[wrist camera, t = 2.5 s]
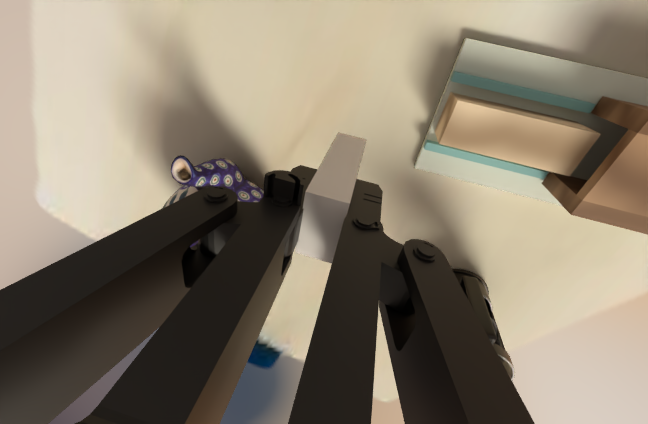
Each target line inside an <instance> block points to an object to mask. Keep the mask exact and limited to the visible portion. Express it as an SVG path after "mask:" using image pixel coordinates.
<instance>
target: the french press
mask: <svg viewBox="0 0 648 424" xmlns="http://www.w3.org/2000/svg"><path fill="white" fill-rule="evenodd" d="M452 270H453V272H454V274H455V276H456V278H457V280H458V282H459V284H460V285H461V287H462V289H463V291H464V293H465V295H466V297H467V298H468V300H469V302H470V304H471V306H472V308H473V310H474V312H475V313H476V315H477V317H478V319H479V321H480V323H481V325H482V326H483V328H484V330H485V332H486V334H487V336H488V338H489V340H490V341H491V343H492V345H493V347H494V349H495V351H496V353H497V354H498V356H499V358H500V360H501V362H502V364H503V366H504V368H505V369H506V371H507V373H508V375H509V377H510V379H511V381H513V379H514V376H515V371H514V367H513V365H512V362H511V359H510V356H509V355H508V353H507V352H506V351H505V348H504V345H503V342H502V339H501V336H500V333H499V330H498V328H497V325H496V322H495V319H494V316H493V313H492V310H493V308H492V304H491V301H490V299H489V296H488V295H489V291H488V288H487V285H486V284H485V282H484V281H483V280H482V279H481V278H480V277H479V276H477V275H476V274H474V273H472V272H469V271H465V270H460V269H452Z"/></svg>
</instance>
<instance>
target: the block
mask: <svg viewBox="0 0 648 424" xmlns="http://www.w3.org/2000/svg"><path fill="white" fill-rule="evenodd" d="M591 113H592V114H594V115H597V116H599V117H601V118H604V119H606V120H608V121H611V122H613V123H615V124H618V125H620V126H622V127H625V128H627V129H629V130H628V131H627V132H626V133H625V135H624V136H623V137H622V138H621V140H620V141H619V142H618V143H617V145H616V146H615V147H614V148H613V150H612V151H611V152H610V153H609V155H608V156H607V157H606V158H605V160H604V161H603V162H602V163H601V165H600V166H599V167H598V168H597V170H596V171H595V172H594V173H593V175H592V176H591V177H590V178H589V180H584V179H580V178H576V177H572V176H566V175H562V174H558V173H554V172H549V173H548V175H547V176H546V178H545V179H544V181H543V182H542V183H541V184H542V185H543V186H544V187H545V188H546V189H547V190H548V191H549V192H550V193H551V194H552V195H553V196H554V197H555V198H556V199H557V200H558V201H559V203H560V204H561V205H562V206H563V207H564V208H565V209H566V210H567V211H568V212H569V213H570V214H571V215H575V216H579V217H582V218H586V219H590V220H594V221H598V222H602V223H606V224H610V225H613V226H617V227H621V228H625V229H629V230H633V231H637V232H641V233H644V234H648V106H644V105H639V104H635V103H631V102H626V101H622V100H617V99H613V98H609V97H604V96H602V98H601V99H600V100H599V102H598V103H597V105H596V106H595V108H594V109H593V110H592V112H591Z"/></svg>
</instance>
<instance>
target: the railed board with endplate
mask: <svg viewBox="0 0 648 424" xmlns="http://www.w3.org/2000/svg"><path fill="white" fill-rule="evenodd" d="M450 92H453V93H457V94H461V95H466V96H470V97H474V98H478V99H483V100H487V101H491V102H495V103H500V104H504V105H508V106H512V107H517V108H521V109H525V110H529V111H534V112H538V113H542V114H546V115H551V116H555V117H559V118H563V119H568V120H572V121H576V122H578V123H580V124H582V125H584V126H586V127H588V128H590V129H592V130H594V131H596V132H598V133H600V134H601V135H600V136H599V138H598V139H597V140H596V142H595V143H594V144H593V146H592V147H591V148H590V150H589V151H588V152H587V154H586V155H585V156H584V158H583V159H582V160H581V162H580V163H579V164H578V166H577V167H576V168H575V170H574V171H573V172H572V174H571V175H570V176H572V177H576V178H580V179H584V180H589V178H590V177H591V176H592V175H593V173H594V172H595V171H596V170H597V168H598V167H599V166H600V165H601V163H602V162H603V161H604V160H605V158H606V157H607V156H608V155H609V153H610V152H611V151H612V150H613V148H614V147H615V146H616V145H617V143H618V142H619V141H620V140H621V138H622V137H623V136H624V135H625V133H626V132H627V131H628V130H629V129H627V128H625V127H622V126H620V125H618V124H615V123H613V122H611V121H608V120H606V119H604V118H601V117H599V116H597V115H594V114H592V113H591V112H592V110H593V109H594V108H595V106H596V105H597V103H598V102H599V100H600V99H601V98H602V96H604V97H609V98H613V99H617V100H622V101H626V102H631V103H635V104H639V105H644V106H648V78H645V77H641V76H636V75H631V74H627V73H622V72H618V71H613V70H609V69H604V68H600V67H595V66H591V65H586V64H582V63H577V62H573V61H568V60H564V59H559V58H555V57H550V56H546V55H541V54H537V53H532V52H527V51H523V50H518V49H514V48H509V47H505V46H500V45H496V44H491V43H487V42H482V41H478V40H473V39H469V38H464V41H463V43H462V46H461V48H460V51H459V53H458V56H457V59H456V61H455V64H454V66H453V69H452V71H451V74H450V76H449V79H448V81H447V84H446V86H445V89H444V91H443V94H442V96H441V99H440V101H439V104H438V107H437V109H436V112H435V114H434V117H433V119H432V122H431V124H430V127H429V129H428V132H427V134H426V137H425V139H424V142H423V144H422V147H421V150H420V152H419V155H418V157H417V160H416V162H415V165H414V168H415V169H419V170H423V171H427V172H431V173H435V174H439V175H442V176H446V177H450V178H454V179H458V180H462V181H466V182H470V183H474V184H478V185H481V186H485V187H489V188H493V189H497V190H501V191H505V192H509V193H513V194H516V195H520V196H524V197H528V198H532V199H536V200H540V201H544V202H548V203H552V204H555V205H559V206H562V205H561V204H560V203H559V201H558V200H557V199H556V198H555V197H554V196H553V195H552V194H551V193H550V192H549V191H548V190H547V189H546V188H545V187H544V186H543V185H542V184H541V183H542V182H543V181H544V179H545V178H546V176H547V175H548V173H549V172H550V171H546V170H542V169H538V168H534V167H530V166H526V165H522V164H518V163H514V162H510V161H506V160H502V159H498V158H494V157H490V156H486V155H482V154H478V153H474V152H470V151H466V150H462V149H458V148H454V147H450V146H445V145H441V144H439V142H438V140H437V137H436V134H435V132H434V131H435V129H436V126H437V124H438V121H439V119H440V116H441V114H442V112H443V109H444V107H445V104H446V102H447V99H448V97H449V94H450Z"/></svg>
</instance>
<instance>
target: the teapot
mask: <svg viewBox="0 0 648 424" xmlns="http://www.w3.org/2000/svg"><path fill="white" fill-rule="evenodd" d="M171 173H172V176H173V178H174V179H175V180H176V181H177V182H179V183H180V184H182V185H184V186H183V187H181V188H180V189H178V190H177V191H176V192H175V193H174V194H173V195H172V196H171V197H170V198H169V199H168V201H167V202H166V203H165V205H164V206H163V208H165V207H167V206H169V205H171V204H173V203H175V202H177V201H179V200H181V199H183V198H184V197H186V196H188V195H190V194H192V193H194V192H196V191H198V190H200V189H203V188H206V187H213V186H219V187H220V186H221V187H226V188H229V189H231V190H233V191H234V192H236V194H237V196H238V201H243V202H259V201H260V200H261V198H262V197H263V193H264V191H263V190H262V189H261V188H260V187H258V186H257V185H255V184H254V183H252V182H250V181H248V180H246V179H244V177H243V175H242V172H241V171H240V169H239V168H238V167H237V165H236V164H235V163H233V162H231V161H229V160H227V159H222V158H221V159H213V160H210V161H207V162H205V163H202V164H200V165H197V166H193V165H192V164H191V163H190V161H189V160H188V159H187V158H186V157H185V156H178V157H176V158H175V159H174V161H173V163H172V166H171ZM163 208H162V209H163ZM197 243H198V241H197V242H195V243H194V244H192V245H191V246H190V247H192V246H194V245H196V244H197Z"/></svg>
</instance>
